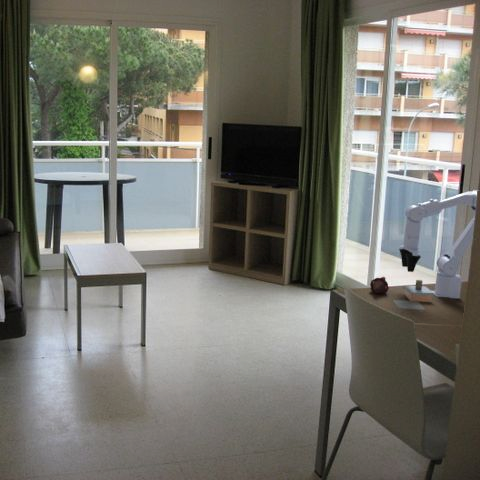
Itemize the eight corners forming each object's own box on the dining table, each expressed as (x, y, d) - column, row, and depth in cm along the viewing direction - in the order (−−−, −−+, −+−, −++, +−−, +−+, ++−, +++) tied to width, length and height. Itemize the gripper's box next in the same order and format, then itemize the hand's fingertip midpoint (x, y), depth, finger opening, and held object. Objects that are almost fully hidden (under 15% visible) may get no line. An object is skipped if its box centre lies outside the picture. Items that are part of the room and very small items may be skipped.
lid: (424, 288, 272) (425, 277, 271) (433, 294, 263) (435, 284, 262) (402, 287, 270) (404, 277, 269) (411, 294, 262) (412, 283, 261)
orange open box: (424, 297, 271) (425, 288, 271) (430, 303, 264) (431, 294, 263) (404, 296, 271) (405, 287, 270) (410, 302, 263) (411, 293, 263)
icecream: (388, 284, 262) (393, 279, 276) (370, 277, 264) (376, 271, 278) (382, 301, 264) (387, 294, 278) (364, 293, 266) (370, 287, 280)
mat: (417, 302, 263) (417, 301, 263) (425, 311, 254) (425, 309, 254) (392, 301, 263) (392, 299, 263) (398, 309, 253) (398, 308, 253)
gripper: (396, 231, 277) (393, 263, 280) (407, 239, 263) (402, 273, 266) (414, 232, 278) (409, 264, 281) (425, 240, 264) (420, 274, 267)
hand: (407, 269), depth 273 cm, fingers open, 7 cm apart
